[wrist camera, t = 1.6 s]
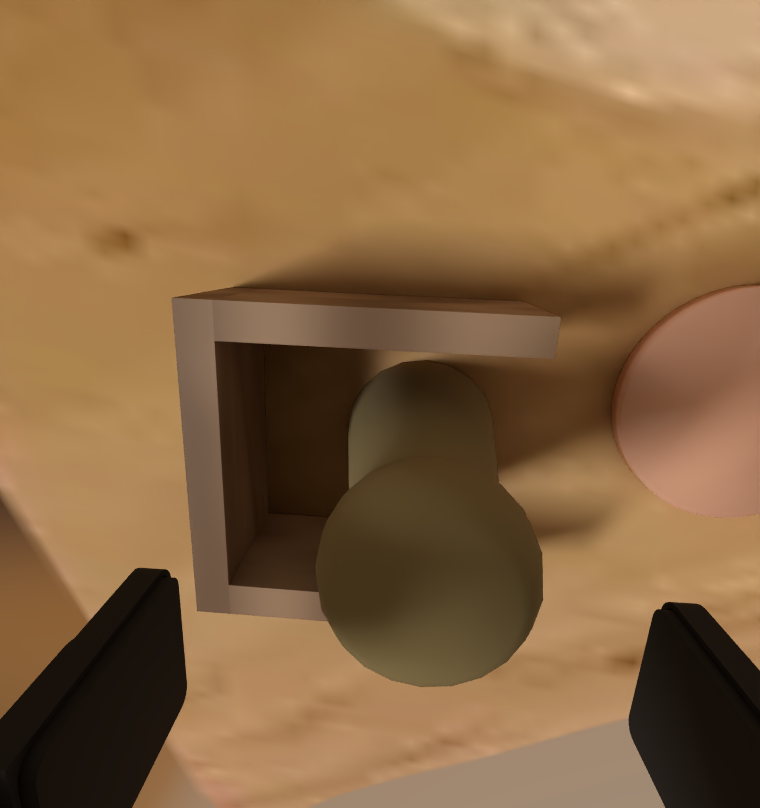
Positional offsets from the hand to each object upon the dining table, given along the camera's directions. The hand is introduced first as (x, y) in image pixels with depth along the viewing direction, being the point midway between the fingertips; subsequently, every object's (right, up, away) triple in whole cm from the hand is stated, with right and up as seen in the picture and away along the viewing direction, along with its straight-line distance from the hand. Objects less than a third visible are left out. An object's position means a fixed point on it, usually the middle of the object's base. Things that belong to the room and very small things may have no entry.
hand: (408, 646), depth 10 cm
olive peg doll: (+1, +4, +11) cm, 12 cm away
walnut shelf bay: (-1, +4, +11) cm, 11 cm away
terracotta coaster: (+13, +5, +10) cm, 17 cm away
